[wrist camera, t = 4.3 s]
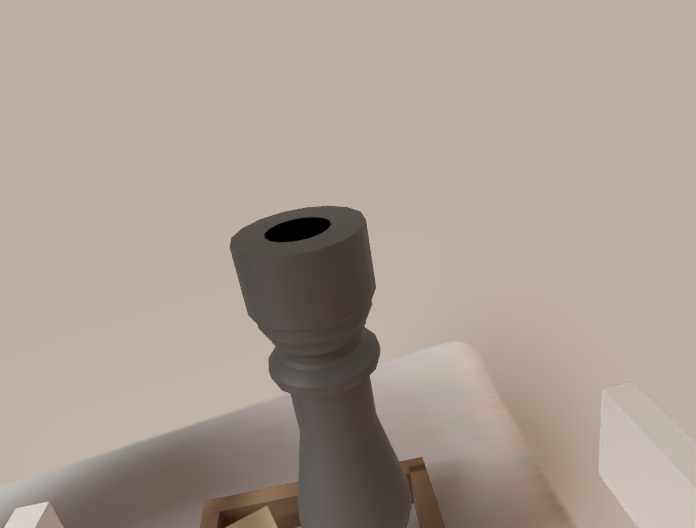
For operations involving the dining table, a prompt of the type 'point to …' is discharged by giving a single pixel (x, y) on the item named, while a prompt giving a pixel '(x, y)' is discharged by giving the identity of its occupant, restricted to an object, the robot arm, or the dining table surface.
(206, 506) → the walnut caddy
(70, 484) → the dining table surface
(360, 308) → the candle holder
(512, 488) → the dining table surface
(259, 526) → the offcut upper
